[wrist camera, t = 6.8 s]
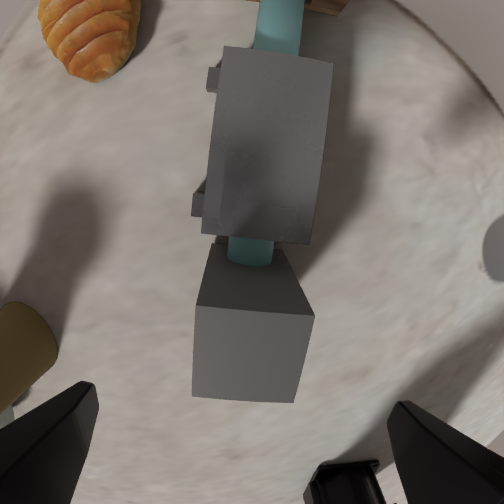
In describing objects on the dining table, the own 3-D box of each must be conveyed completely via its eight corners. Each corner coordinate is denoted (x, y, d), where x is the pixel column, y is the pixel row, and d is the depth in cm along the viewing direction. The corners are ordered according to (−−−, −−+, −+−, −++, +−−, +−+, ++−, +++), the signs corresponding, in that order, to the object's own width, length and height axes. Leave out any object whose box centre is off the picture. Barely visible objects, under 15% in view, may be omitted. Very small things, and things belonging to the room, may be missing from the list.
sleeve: (325, 88, 16) (353, 68, 12) (306, 225, 18) (329, 247, 14) (210, 71, 16) (202, 44, 11) (193, 213, 18) (179, 231, 13)
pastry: (168, 57, 15) (151, 34, 12) (67, 105, 16) (34, 97, 12) (133, -47, 13) (117, -76, 9) (46, -1, 13) (18, -21, 10)
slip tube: (318, -47, 13) (354, -121, 6) (272, 313, 20) (293, 402, 12) (254, -57, 13) (265, -139, 5) (206, 307, 19) (191, 396, 12)
